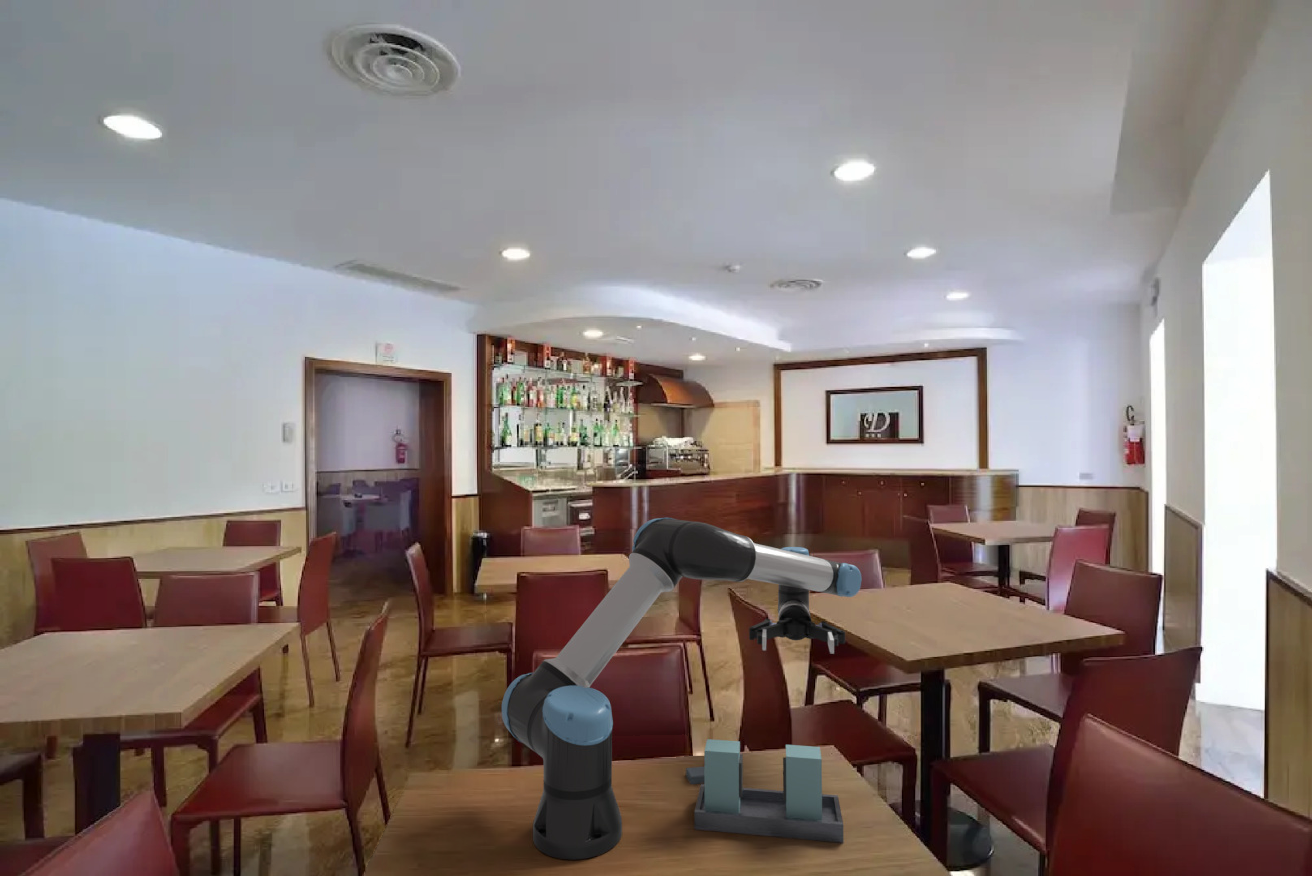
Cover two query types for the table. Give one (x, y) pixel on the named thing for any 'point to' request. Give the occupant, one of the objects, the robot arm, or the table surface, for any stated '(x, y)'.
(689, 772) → the bracket
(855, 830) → the table surface
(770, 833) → the dark gray tray
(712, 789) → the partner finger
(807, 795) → the finger
